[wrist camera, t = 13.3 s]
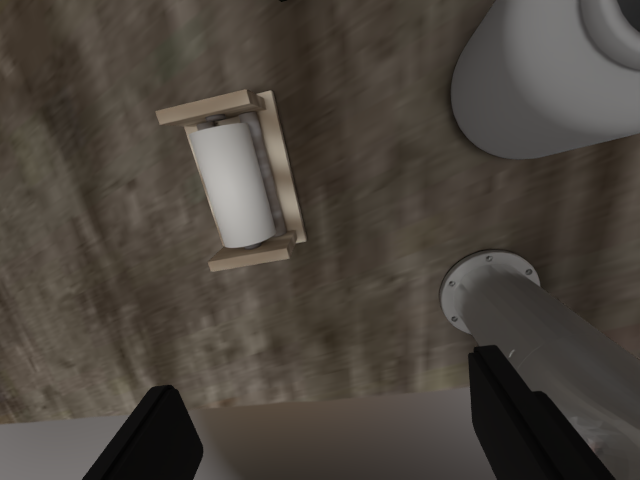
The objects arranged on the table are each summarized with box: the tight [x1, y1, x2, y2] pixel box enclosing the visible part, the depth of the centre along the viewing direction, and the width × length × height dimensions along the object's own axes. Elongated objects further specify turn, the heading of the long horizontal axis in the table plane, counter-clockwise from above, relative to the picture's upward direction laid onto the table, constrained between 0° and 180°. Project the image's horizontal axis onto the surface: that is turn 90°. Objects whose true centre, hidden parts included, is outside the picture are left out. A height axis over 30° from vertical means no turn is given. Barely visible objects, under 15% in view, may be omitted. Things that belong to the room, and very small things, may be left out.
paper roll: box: [189, 123, 276, 248], centre depth 33 cm, size 12×6×6 cm, turn 12°
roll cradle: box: [155, 89, 307, 272], centre depth 34 cm, size 18×11×8 cm, turn 12°
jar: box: [451, 0, 640, 159], centre depth 20 cm, size 19×15×25 cm
